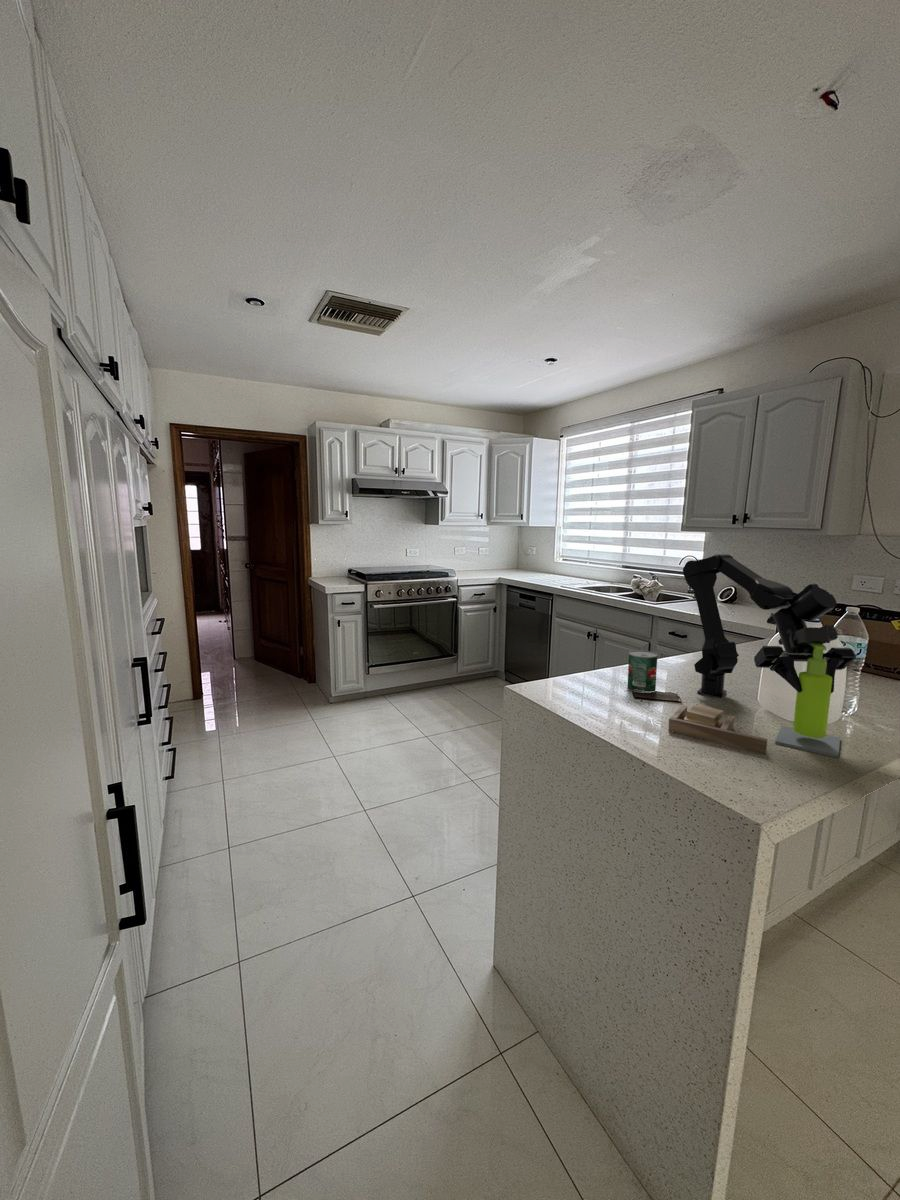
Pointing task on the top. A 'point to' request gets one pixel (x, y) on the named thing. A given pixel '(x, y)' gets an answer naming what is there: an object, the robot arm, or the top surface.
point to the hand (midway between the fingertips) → (815, 692)
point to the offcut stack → (705, 716)
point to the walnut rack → (716, 732)
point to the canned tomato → (642, 670)
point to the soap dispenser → (813, 696)
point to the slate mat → (808, 742)
